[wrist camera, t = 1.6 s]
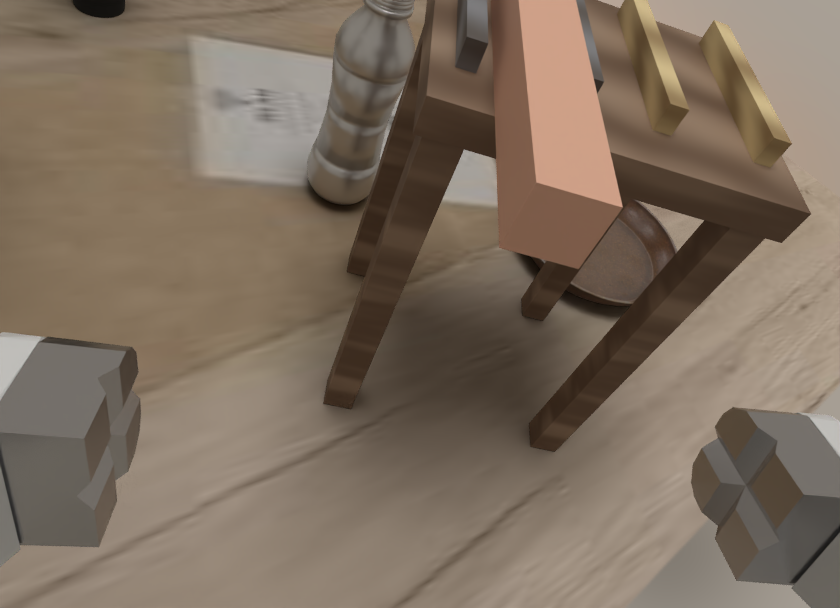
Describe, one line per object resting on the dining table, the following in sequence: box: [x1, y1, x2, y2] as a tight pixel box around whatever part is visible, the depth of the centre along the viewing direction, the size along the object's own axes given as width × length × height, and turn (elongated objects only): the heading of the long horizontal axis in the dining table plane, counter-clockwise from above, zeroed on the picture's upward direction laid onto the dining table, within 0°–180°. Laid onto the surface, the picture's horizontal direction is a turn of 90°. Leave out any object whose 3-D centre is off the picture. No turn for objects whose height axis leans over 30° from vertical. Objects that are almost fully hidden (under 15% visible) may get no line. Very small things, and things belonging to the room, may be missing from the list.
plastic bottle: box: [307, 0, 415, 205], centre depth 54 cm, size 6×7×20 cm
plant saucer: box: [531, 199, 677, 306], centre depth 66 cm, size 18×18×3 cm
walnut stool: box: [324, 0, 811, 452], centre depth 43 cm, size 16×19×28 cm
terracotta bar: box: [491, 0, 623, 269], centre depth 30 cm, size 24×3×3 cm, turn 176°
